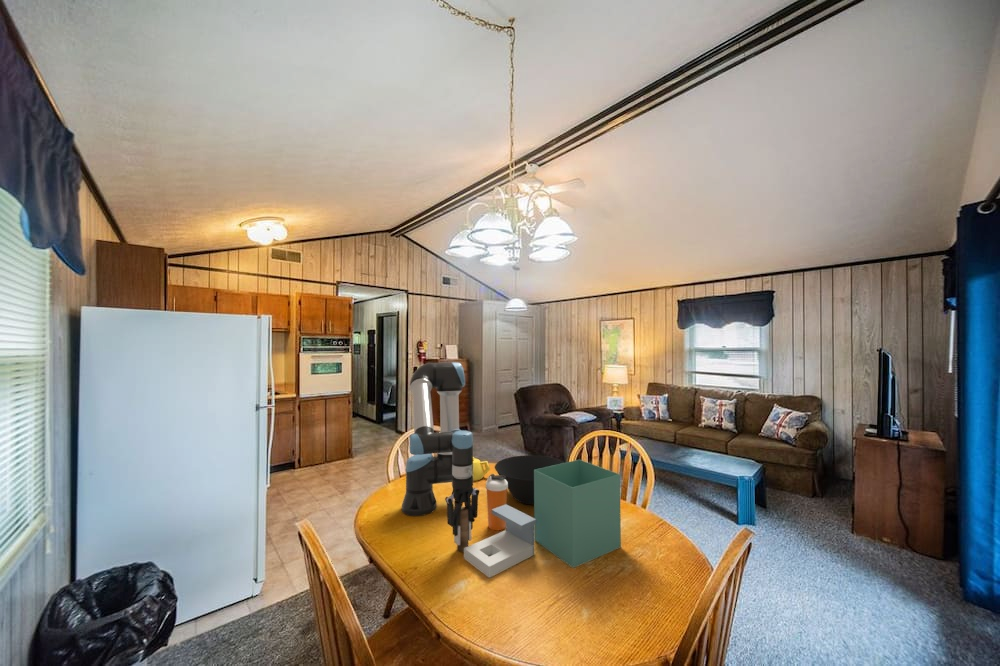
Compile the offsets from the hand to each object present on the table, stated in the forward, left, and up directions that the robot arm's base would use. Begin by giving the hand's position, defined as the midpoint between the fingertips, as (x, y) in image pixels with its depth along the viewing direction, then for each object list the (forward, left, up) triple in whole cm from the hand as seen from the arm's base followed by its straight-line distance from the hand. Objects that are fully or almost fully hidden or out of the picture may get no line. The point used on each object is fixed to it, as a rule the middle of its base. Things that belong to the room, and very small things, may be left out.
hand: (462, 541), depth 134 cm
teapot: (-55, +43, -3) cm, 70 cm away
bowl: (-15, +50, -3) cm, 52 cm away
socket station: (+12, +7, -3) cm, 14 cm away
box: (+24, +34, -3) cm, 42 cm away
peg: (0, 0, -3) cm, 3 cm away
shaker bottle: (-5, +20, -3) cm, 21 cm away
